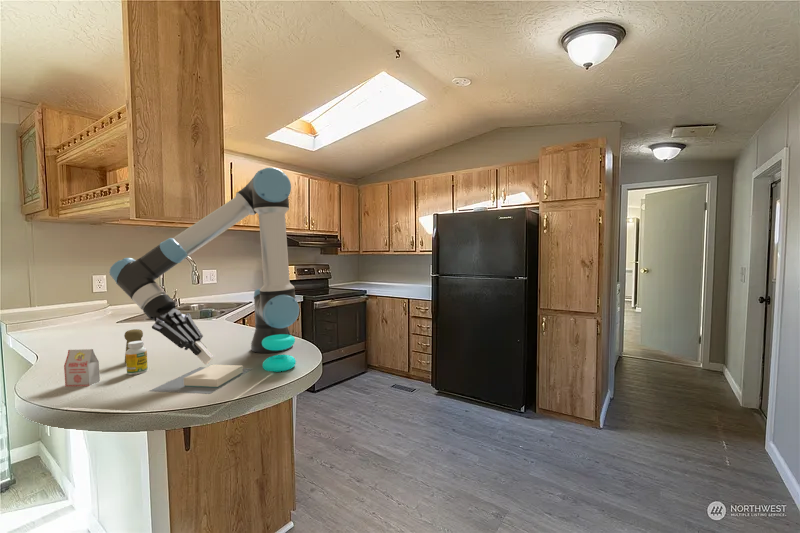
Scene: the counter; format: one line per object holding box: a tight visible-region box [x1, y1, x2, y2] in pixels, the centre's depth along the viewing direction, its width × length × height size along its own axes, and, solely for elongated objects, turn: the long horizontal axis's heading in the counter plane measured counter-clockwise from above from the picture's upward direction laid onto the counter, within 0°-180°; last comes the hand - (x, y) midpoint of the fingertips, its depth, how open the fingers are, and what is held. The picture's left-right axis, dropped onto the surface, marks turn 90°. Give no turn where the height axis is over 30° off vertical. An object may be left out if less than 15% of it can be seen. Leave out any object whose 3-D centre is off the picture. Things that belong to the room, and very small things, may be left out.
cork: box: [123, 328, 144, 365], centre depth 128 cm, size 6×6×11 cm
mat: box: [149, 366, 253, 395], centre depth 107 cm, size 18×20×1 cm
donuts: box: [262, 334, 297, 373], centre depth 117 cm, size 10×10×10 cm
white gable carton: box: [63, 348, 101, 387], centre depth 106 cm, size 4×7×10 cm, turn 90°
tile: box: [184, 364, 244, 388], centre depth 106 cm, size 2×12×10 cm
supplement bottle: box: [125, 340, 149, 376], centre depth 116 cm, size 5×5×10 cm
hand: (209, 360), depth 106 cm, fingers closed
